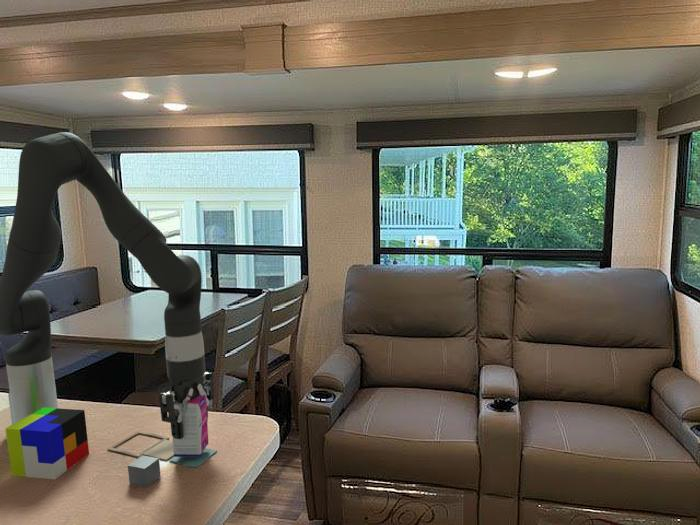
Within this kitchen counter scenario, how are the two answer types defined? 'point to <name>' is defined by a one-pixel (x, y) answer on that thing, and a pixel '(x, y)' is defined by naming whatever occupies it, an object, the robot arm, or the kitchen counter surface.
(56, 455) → the puzzle toy
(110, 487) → the kitchen counter surface
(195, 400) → the supplement box
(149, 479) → the cube
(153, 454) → the track
